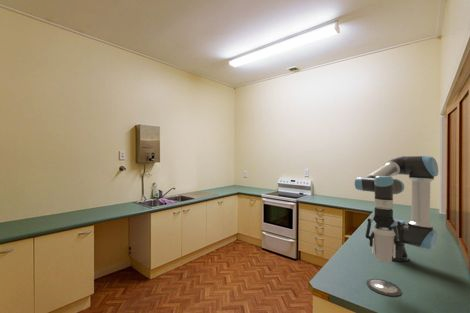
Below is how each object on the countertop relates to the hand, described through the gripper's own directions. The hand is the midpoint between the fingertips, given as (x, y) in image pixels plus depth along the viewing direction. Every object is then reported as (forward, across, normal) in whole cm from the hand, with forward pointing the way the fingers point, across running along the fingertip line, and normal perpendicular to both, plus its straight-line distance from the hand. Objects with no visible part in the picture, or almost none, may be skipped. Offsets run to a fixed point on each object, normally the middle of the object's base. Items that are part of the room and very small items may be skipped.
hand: (383, 254), depth 110 cm
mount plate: (+16, 0, 0) cm, 16 cm away
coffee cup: (+2, 0, 0) cm, 2 cm away
